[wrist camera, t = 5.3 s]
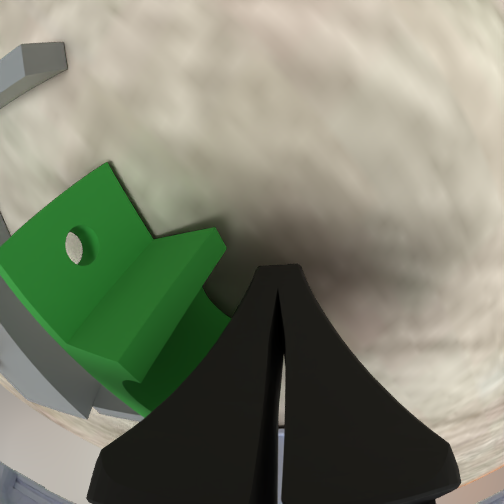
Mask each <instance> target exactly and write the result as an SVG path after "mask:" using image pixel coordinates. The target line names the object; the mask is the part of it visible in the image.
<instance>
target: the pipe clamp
mask: <svg viewBox="0 0 504 504" xmlns="http://www.w3.org/2000/svg"><path fill="white" fill-rule="evenodd" d="M69 232H72V233H74V234H75V235H77V236H78V238H79V239H80V241H81V243H82V247H83V254H82V258H81V260H80V262H79V263H78V264H75V263H74V262H73V261H71V259H70V258H69V256H68V255H67V252H66V248H65V241H66V237H67V234H68V233H69ZM226 249H227V248H226V246H225V244H224V242H223V240H222V239H221V237H220V235H219V233H218V231H217V229H216V227H213V228H208V229H203V230H198V231H193V232H187V233H182V234H177V235H173V236H168V237H163V238H158V239H153V238H152V236H151V235H150V233H149V231H148V230H147V228H146V227H145V225H144V223H143V222H142V220H141V219H140V217H139V215H138V214H137V212H136V210H135V209H134V207H133V206H132V204H131V202H130V201H129V199H128V197H127V196H126V194H125V192H124V190H123V189H122V187H121V185H120V184H119V182H118V180H117V178H116V177H115V175H114V173H113V171H112V170H111V168H110V166H109V164H108V163H107V162H106V163H104V164H103V165H101V166H100V167H98V168H97V169H95V170H93V171H92V172H90V173H89V174H88V175H86V176H85V177H83V178H82V179H81V180H79V181H78V182H76V183H75V184H74V185H72V186H71V187H70V188H68V189H67V190H66V191H64V192H63V193H62V194H60V195H59V196H58V197H57V198H55V199H54V200H53V201H52V202H50V203H49V204H48V205H47V206H45V207H44V208H43V209H42V210H40V211H39V212H38V213H37V214H36V215H34V216H33V217H32V218H31V219H30V220H29V221H27V222H26V223H25V224H24V225H23V226H22V227H21V228H20V229H18V230H17V231H16V232H15V233H14V234H13V235H12V236H11V237H10V238H9V239H8V240H7V241H5V242H4V243H3V244H2V245H1V246H0V275H1V277H2V278H3V279H4V281H5V282H6V284H7V285H8V286H9V287H10V289H11V290H12V291H13V293H14V294H15V295H16V296H17V298H18V299H19V300H20V301H21V303H22V304H23V305H24V306H25V307H26V309H27V310H28V311H29V312H30V313H31V315H32V316H33V317H34V318H35V319H36V320H37V321H38V323H39V324H40V325H41V326H42V327H43V328H44V329H45V330H46V331H47V332H48V334H49V335H50V336H51V337H52V338H53V339H54V340H55V341H56V342H57V343H58V344H59V345H60V346H61V347H62V348H63V349H64V350H65V351H66V352H67V353H68V354H69V355H70V356H71V357H72V358H73V359H74V360H75V361H76V362H77V363H78V364H79V365H81V366H82V367H83V368H84V369H85V370H86V371H87V372H88V373H89V374H90V375H92V376H93V377H94V378H95V379H96V380H97V381H98V382H100V383H101V384H102V385H103V386H104V387H105V388H107V389H108V390H109V391H110V392H111V393H113V394H114V395H115V396H116V397H118V398H119V399H120V400H121V401H123V402H124V403H125V404H126V405H128V406H129V407H130V408H132V409H133V410H134V411H136V412H137V413H138V414H140V415H141V416H142V417H144V418H145V417H146V416H147V415H149V414H150V413H151V412H152V411H153V410H154V409H155V408H156V407H158V406H159V405H160V404H161V403H162V402H163V401H164V400H165V399H167V398H168V397H169V396H170V395H171V394H172V393H173V392H174V391H175V390H176V389H177V388H178V387H179V386H180V385H181V384H182V382H183V381H184V380H185V379H186V378H187V377H188V376H189V375H190V374H191V373H192V371H193V370H194V369H195V368H196V367H197V366H198V365H199V363H200V362H201V361H202V360H203V358H204V357H205V356H206V355H207V353H208V352H209V351H210V349H211V348H212V347H213V345H214V344H215V343H216V341H217V340H218V338H219V337H220V335H221V334H222V332H223V331H224V329H225V328H226V326H227V325H228V323H229V322H230V320H231V318H230V317H228V316H227V315H225V314H224V313H223V312H222V311H220V310H219V309H218V308H217V307H216V306H215V305H214V304H213V303H212V302H211V301H210V299H209V298H208V296H207V295H206V293H205V292H204V290H203V287H202V286H203V284H204V283H205V281H206V280H207V278H208V277H209V275H210V274H211V272H212V271H213V269H214V267H215V266H216V264H217V263H218V261H219V260H220V258H221V257H222V255H223V254H224V252H225V251H226Z"/></svg>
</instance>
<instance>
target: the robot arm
mask: <svg viewBox="0 0 504 504" xmlns="http://www.w3.org/2000/svg"><path fill="white" fill-rule="evenodd" d="M283 356H284V357H285V366H286V379H285V428H284V429H278V413H279V399H280V389H281V379H282V368H283ZM460 484H461V479H460V474H459V468H458V465H457V462H456V460H455V457H454V454H453V452H452V449H451V447H450V444H449V443H448V442H447V441H445V440H444V439H442V438H441V437H440V436H438V435H437V434H436V433H435V432H433V431H432V430H431V429H429V428H428V427H427V426H426V425H424V424H423V423H422V422H421V421H419V420H418V419H417V418H416V417H415V416H414V415H412V414H411V413H410V412H409V411H408V410H407V409H406V408H405V407H403V406H402V405H401V404H400V403H399V402H398V401H397V400H396V399H395V398H394V397H393V396H392V395H391V394H390V393H389V392H388V391H387V390H386V389H385V388H384V387H383V386H382V385H381V384H380V383H379V382H378V381H377V380H376V379H375V378H374V377H373V376H372V375H371V374H370V373H369V371H368V370H367V369H366V368H365V367H364V366H363V365H362V363H361V362H360V361H359V360H358V359H357V358H356V356H355V355H354V354H353V353H352V351H351V350H350V349H349V348H348V346H347V345H346V344H345V342H344V341H343V340H342V338H341V337H340V336H339V334H338V333H337V331H336V330H335V328H334V327H333V326H332V324H331V323H330V321H329V320H328V318H327V316H326V315H325V313H324V312H323V310H322V308H321V307H320V305H319V303H318V302H317V300H316V298H315V296H314V295H313V293H312V291H311V289H310V287H309V285H308V283H307V281H306V278H305V276H304V273H303V270H302V267H301V266H300V265H299V264H284V265H270V266H259V267H258V268H257V269H256V271H255V274H254V276H253V279H252V281H251V283H250V286H249V288H248V290H247V292H246V294H245V296H244V298H243V299H242V301H241V303H240V305H239V307H238V308H237V310H236V312H235V314H234V315H233V317H232V319H231V320H230V322H229V323H228V325H227V326H226V328H225V329H224V331H223V332H222V334H221V335H220V337H219V338H218V340H217V341H216V343H215V344H214V345H213V347H212V348H211V349H210V351H209V352H208V353H207V355H206V356H205V357H204V358H203V360H202V361H201V362H200V363H199V365H198V366H197V367H196V368H195V369H194V370H193V371H192V373H191V374H190V375H189V376H188V377H187V378H186V379H185V380H184V381H183V382H182V384H181V385H180V386H179V387H178V388H177V389H176V390H175V391H174V392H173V393H172V394H171V395H170V396H169V397H168V398H167V399H165V400H164V401H163V402H162V403H161V404H160V405H159V406H158V407H156V408H155V409H154V410H153V411H152V412H151V413H150V414H149V415H147V416H146V417H145V418H144V419H143V420H142V421H140V422H139V423H138V424H137V425H135V426H134V427H133V428H131V429H130V430H128V431H127V432H126V433H124V434H123V435H121V436H120V437H119V438H117V439H116V440H114V441H113V442H112V443H110V444H109V445H107V446H106V447H104V448H103V449H102V450H101V452H100V454H99V457H98V459H97V461H96V464H95V468H94V471H93V475H92V478H91V483H90V486H89V490H88V494H87V500H88V502H90V503H92V504H436V502H435V499H436V498H439V497H441V496H443V495H445V494H447V493H449V492H451V491H453V490H455V489H457V488H458V487H459V485H460ZM0 504H76V503H73V502H71V501H69V500H67V499H65V498H63V497H60V496H59V495H57V494H54V493H53V492H50V491H49V490H47V489H45V487H44V486H42V485H40V484H38V483H36V482H35V481H33V480H31V479H29V478H28V477H26V476H24V475H22V474H21V473H19V472H17V471H15V470H13V469H11V468H10V467H8V466H6V465H5V464H4V463H2V462H0ZM476 504H504V489H503V490H501V491H500V492H498V493H496V494H494V495H492V496H490V497H488V498H486V499H484V500H482V501H480V502H478V503H476Z"/></svg>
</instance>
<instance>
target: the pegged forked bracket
mask: <svg viewBox="0 0 504 504" xmlns="http://www.w3.org/2000/svg"><path fill="white" fill-rule="evenodd" d="M65 70H67V63H66V57H65V50H64V43H63V42H47V43H29V44H21V45H19V46H18V47H16V48H15V49H14V50H12V51H11V52H10V53H8V54H7V55H6V56H4V57H3V58H2V59H1V60H0V109H1V108H2V107H3V106H5V105H6V104H8V103H9V102H11V101H12V100H14V99H16V98H17V97H19V96H20V95H22V94H23V93H25V92H27V91H28V90H30V89H32V88H33V87H35V86H37V85H39V84H40V83H42V82H44V81H46V80H48V79H49V78H51V77H53V76H55V75H57V74H59V73H61V72H63V71H65ZM10 237H11V236H10V234H9V232H8V230H7V228H6V225H5V223H4V221H3V218H2V216H1V214H0V246H1V245H2V244H3V243H4V242H5V241H7V240H8V239H9V238H10ZM0 373H1V374H2V375H3V376H4V377H5V378H6V379H7V380H8V381H9V382H10V383H11V385H12V386H13V387H14V388H15V389H16V390H17V391H18V392H19V393H20V394H22V395H23V396H24V397H25V398H26V399H27V400H29V401H31V402H34V403H37V404H39V405H42V406H45V407H48V408H51V409H54V410H57V411H60V412H63V413H66V414H70V415H73V416H76V417H80V418H84V419H88V417H89V414H90V411H91V409H92V406H93V407H94V408H95V409H96V410H97V411H98V412H99V413H100V414H103V415H108V416H112V417H117V418H122V419H128V420H133V421H139V422H140V421H142V420H143V419H144V417H142V416H141V415H140V414H138V413H137V412H136V411H134V410H133V409H132V408H130V407H129V406H128V405H126V404H125V403H124V402H123V401H121V400H120V399H119V398H118V397H116V396H115V395H114V394H113V393H111V392H110V391H109V390H108V389H107V388H105V387H104V386H103V385H102V384H101V383H100V382H98V381H97V380H96V379H95V378H94V377H93V376H92V375H90V374H89V373H88V372H87V371H86V370H85V369H84V368H83V367H82V366H81V365H79V364H78V363H77V362H76V361H75V360H74V359H73V358H72V357H71V356H70V355H69V354H68V353H67V352H66V351H65V350H64V349H63V348H62V347H61V346H60V345H59V344H58V343H57V342H56V341H55V340H54V339H53V338H52V337H51V336H50V335H49V334H48V332H47V331H46V330H45V329H44V328H43V327H42V326H41V325H40V324H39V323H38V321H37V320H36V319H35V318H34V317H33V316H32V315H31V313H30V312H29V311H28V310H27V309H26V307H25V306H24V305H23V304H22V303H21V301H20V300H19V299H18V298H17V296H16V295H15V294H14V293H13V291H12V290H11V289H10V287H9V286H8V285H7V284H6V282H5V281H4V279H3V278H2V277H1V275H0Z"/></svg>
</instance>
